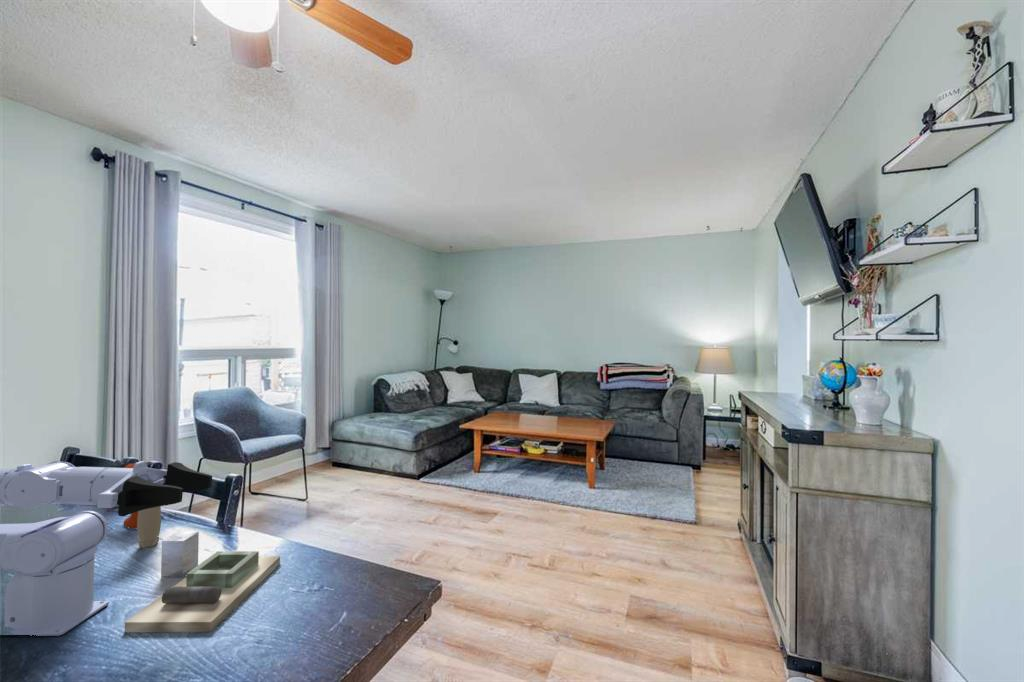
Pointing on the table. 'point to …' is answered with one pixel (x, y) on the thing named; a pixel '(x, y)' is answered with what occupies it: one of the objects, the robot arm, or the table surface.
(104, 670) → the table surface
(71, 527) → the robot arm
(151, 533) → the handle
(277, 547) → the table surface
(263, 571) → the block
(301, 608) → the table surface
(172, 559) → the key peg
